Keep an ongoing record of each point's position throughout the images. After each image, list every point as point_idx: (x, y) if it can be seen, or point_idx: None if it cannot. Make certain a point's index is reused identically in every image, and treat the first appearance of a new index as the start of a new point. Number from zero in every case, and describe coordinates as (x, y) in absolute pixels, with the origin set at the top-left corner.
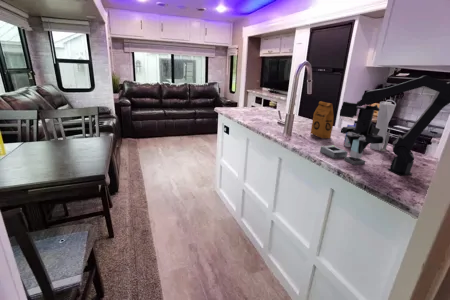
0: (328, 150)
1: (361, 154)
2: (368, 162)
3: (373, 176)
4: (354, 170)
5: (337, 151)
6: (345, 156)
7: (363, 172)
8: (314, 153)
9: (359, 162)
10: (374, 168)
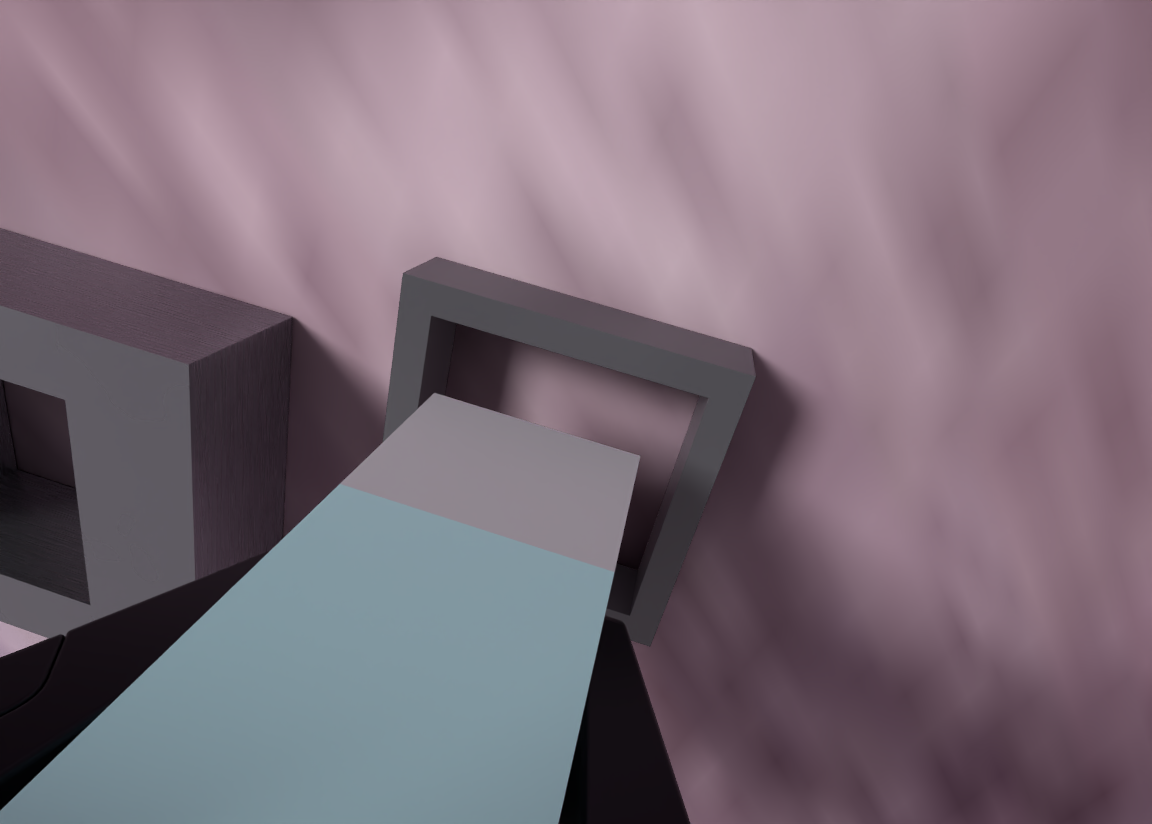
0: (42, 619)
1: (619, 529)
2: (755, 123)
3: (1138, 818)
4: (791, 804)
5: (139, 573)
6: (277, 354)
7: (935, 781)
8: (29, 635)
9: (691, 526)
10: (1034, 425)
